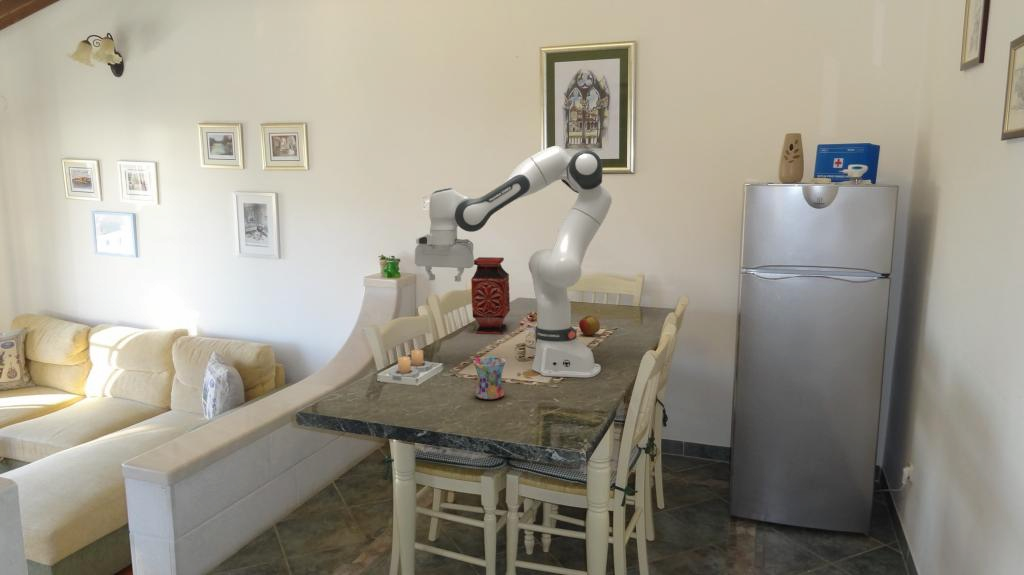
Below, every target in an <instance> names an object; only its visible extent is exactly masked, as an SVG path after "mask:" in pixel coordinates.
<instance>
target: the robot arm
mask: <svg viewBox="0 0 1024 575" xmlns="http://www.w3.org/2000/svg"><path fill="white" fill-rule="evenodd" d="M560 180H561V182H562V183H563V184H564V185H566V186H567V187H568V188H569V189H570V190H571V191H573V192H575V193H576V194H578V195H577V199H576V200H575V202H574V203H573V205H572V207H571V208H570V210H569V212H568V213H567V215H566V216H565V218H564V219H563V221H562V222H561V224H560V226H559V228H558V231H557V232H558V235H557V238H556V242H555V244H554V246H553V248H552V249H548V248H547V249H546V248H545V249H541V250H537V251H535V252H534V253H533V254H532V255H531V256H530V258H529V261H528V269H529V272H530V274H531V278H532V285H533V289H534V295H535V300H536V325H535V330H534V339H535V344H536V345H535V353H534V359H533V363H532V366H531V369H532V370H533V371H534V372H536V373H540V375H542V377H543V376H544V377H557V378H558V377H561V378H567V377H568V378H586V379H587V378H592V377H593V378H594V377H595V376H597V375H598V374H600V372H601V370H602V366H601V365H600V364H598V363H595V359H594V355H593V351H592V350H591V349H590V347H588V346H586V344H584V343H583V342H582V341H581V340H579V339H578V338H577V332H578V328H574V327H573V326H572V325H571V322H572V321H571V320H572V319H571V318H572V317H571V316H572V315H571V312H572V310H571V309H572V306H571V305H572V304H571V301H570V300H571V299H570V298H569V296H568V293H567V288H569V287H572V286H574V285H576V284H577V283H578V281H580V278H581V276H582V265H583V264H582V263H583V260H584V258H585V254H586V252H587V250H588V247H589V246H590V244H591V242H592V240H593V239H594V238H595V235H596V234H597V232H598V231H599V229H600V227H601V226H602V225H603V223H604V221H605V219H606V218H607V217H606V216H607V215H608V212H609V211H610V208H611V204H612V203H613V202H612V200H613V198H612V195H611V194H610V192H609V191H608V190H607V189H606V188H604V187H603V186H602V185H601V184H602V182H603V162H602V159H601V158H600V157H599V155H598V154H597V153H596V152H594V151H593V150H589V149H584V150H581V151H580V150H579V151H578V152H576V153H575V154H573V156H570V155H568V152H567V151H566V150H565V149H564V148H563V147H561V146H560V145H559V146H558V145H553V146H550V147H547V148H544V149H542V150H540V151H539V152H536V153H534V154H533V155H531V156H529V157H527V158H526V159H524V160H523V161H522V162H520V163H519V164H517V166H516V167H514V169H513V170H512V171H511V173H510V174H509V176H508V178H507V179H506V180H505V181H504V182H503V183H501V184H500V185H498V186H497V187H495V188H494V189H492V190H491V191H489V192H487V193H486V194H484V195H483V196H480V197H477V198H473V197H469V196H467V195H463V194H461V193H460V192H458V191H457V190H455V189H454V188H452V187H451V188H450V187H449V188H443V189H439V190H435V191H433V193H432V194H430V198H429V206H428V207H429V209H428V210H429V211H428V214H429V216H428V217H429V219H430V227H429V233H428V234H425V235H423V236H420V237H417V238H415V240H416V241H415V242H416V243H415V244H416V247H415V249H414V264H415V265H416V266H417V267H424V268H425V272H426V274H427V275H428V280H429V281H435V280H436V274H433V272H432V268H452V269H453V268H456V269H457V272H458V273H457V275H455V276H454V282H461V281H462V275H463V273H464V271H465V269H471V268H473V267H474V266H475V265H474V260H475V258H474V243H473V242H472V241H471V240H469V239H462V238H461V239H460V238H459V239H458V227H459V228H460V229H462V230H463V231H466V232H468V233H469V232H470V233H473V232H478V231H479V230H481V229H482V228H483V227H484V226H485V225H486V224H487V222H488V220H489V219H490V218H491V217H492V216H493V215H494V214H495V213H496V212H498V211H500V210H501V209H503V208H505V207H506V206H507V205H510V203H513V202H514V201H516V200H519V199H521V198H525V197H527V196H530V195H533V194H535V193H537V192H539V191H541V190H543V189H544V188H546V187H548V186H549V185H551V184H553V183H555V182H557V181H560Z"/></svg>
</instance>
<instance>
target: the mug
mask: <svg viewBox="0 0 1024 575" xmlns="http://www.w3.org/2000/svg"><path fill="white" fill-rule="evenodd" d="M472 361H473V362H472V363H473V365H474V368H475V370H476V374H477V387H476V390H475V393H474V395H475V396H476V397H477V398H479V399H482V400H496V399H499V398H502V397H504V395H505V390H504V389H503V384H502V375H503V370H504V366H505V364H506V363H507V362H506V359H504V357H503V358H502V357H498V356H483V357H478V358H476V359H474V360H472Z"/></svg>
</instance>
